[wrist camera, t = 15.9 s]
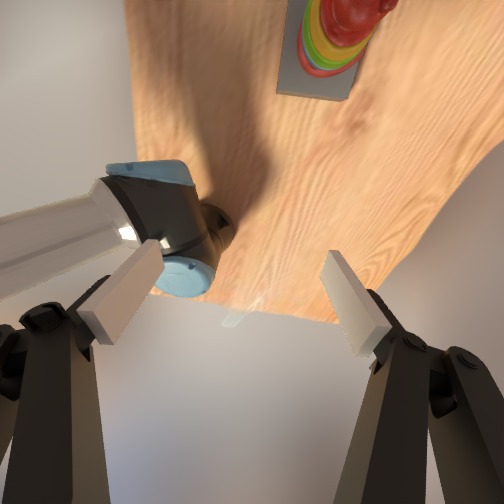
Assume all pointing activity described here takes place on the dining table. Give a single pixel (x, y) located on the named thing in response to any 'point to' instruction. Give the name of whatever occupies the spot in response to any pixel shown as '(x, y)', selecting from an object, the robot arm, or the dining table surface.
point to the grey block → (294, 75)
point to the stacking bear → (337, 33)
